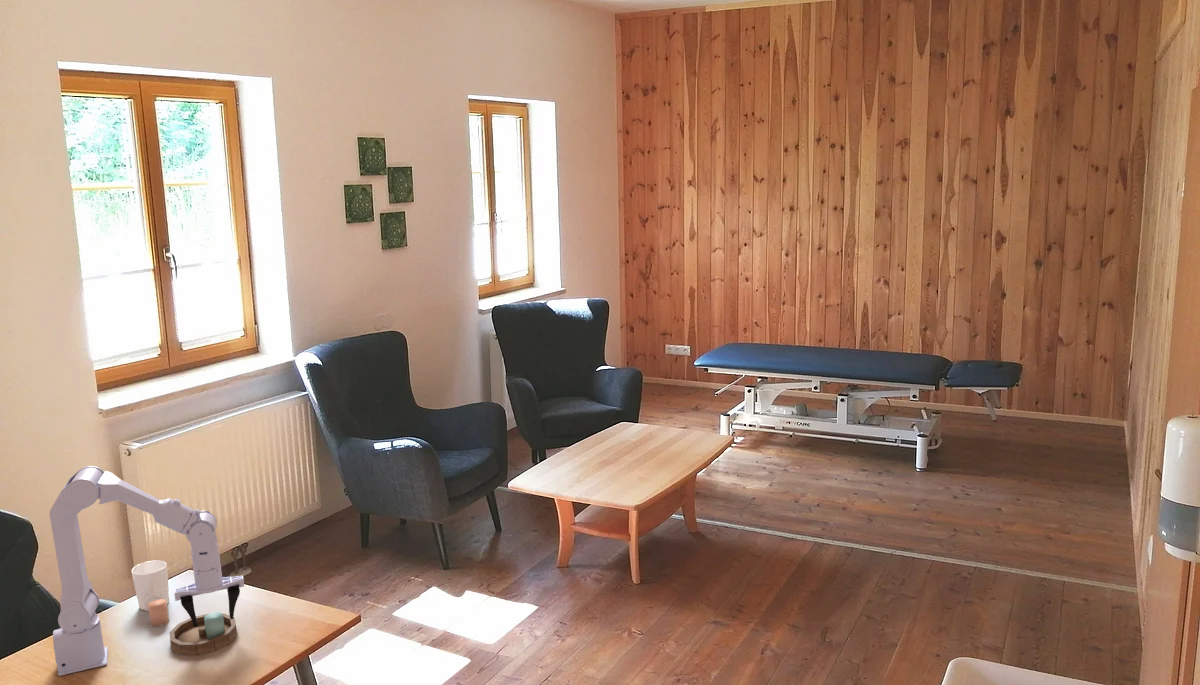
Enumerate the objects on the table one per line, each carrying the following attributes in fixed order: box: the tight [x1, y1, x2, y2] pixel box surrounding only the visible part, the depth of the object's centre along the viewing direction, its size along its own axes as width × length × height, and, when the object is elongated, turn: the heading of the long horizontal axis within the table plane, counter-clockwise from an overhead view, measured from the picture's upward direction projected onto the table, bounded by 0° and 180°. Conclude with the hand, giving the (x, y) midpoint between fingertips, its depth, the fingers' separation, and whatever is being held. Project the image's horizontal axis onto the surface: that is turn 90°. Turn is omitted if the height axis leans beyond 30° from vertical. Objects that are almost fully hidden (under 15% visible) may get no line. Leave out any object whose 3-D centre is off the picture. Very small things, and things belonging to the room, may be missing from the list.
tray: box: [169, 613, 238, 656], centre depth 221 cm, size 14×14×2 cm
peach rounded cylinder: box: [148, 599, 170, 627], centre depth 229 cm, size 4×4×5 cm
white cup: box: [131, 559, 170, 612], centre depth 237 cm, size 8×8×10 cm
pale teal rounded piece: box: [204, 611, 225, 640], centre depth 219 cm, size 4×4×5 cm
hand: (213, 621), depth 219 cm, fingers open, 7 cm apart
